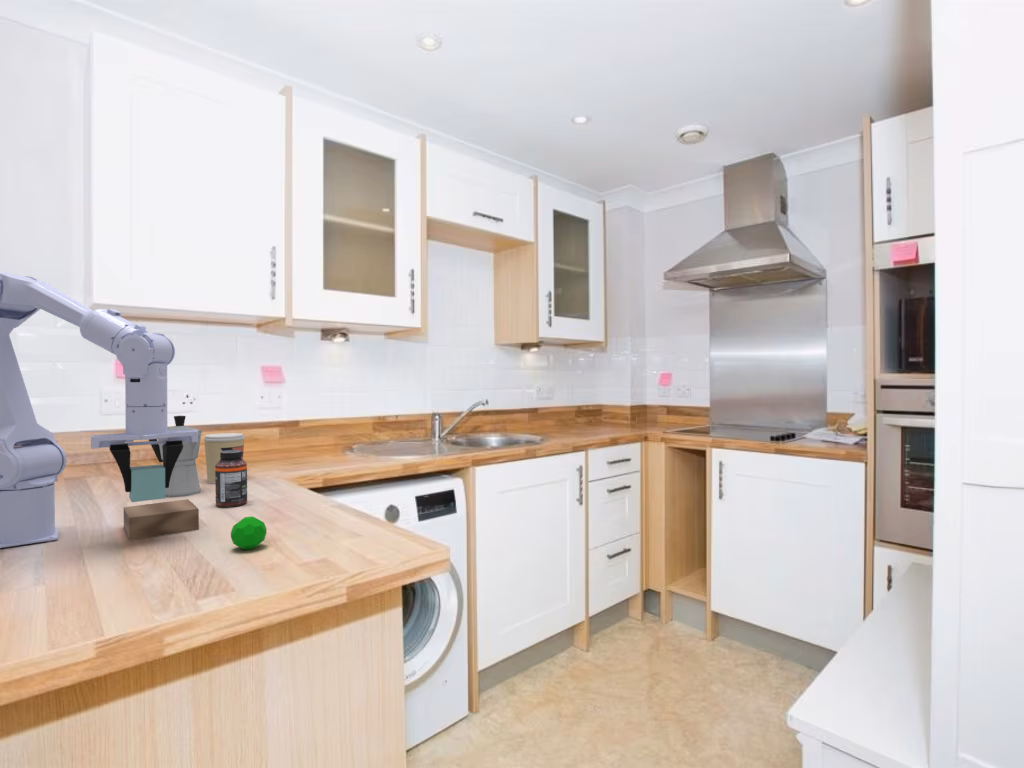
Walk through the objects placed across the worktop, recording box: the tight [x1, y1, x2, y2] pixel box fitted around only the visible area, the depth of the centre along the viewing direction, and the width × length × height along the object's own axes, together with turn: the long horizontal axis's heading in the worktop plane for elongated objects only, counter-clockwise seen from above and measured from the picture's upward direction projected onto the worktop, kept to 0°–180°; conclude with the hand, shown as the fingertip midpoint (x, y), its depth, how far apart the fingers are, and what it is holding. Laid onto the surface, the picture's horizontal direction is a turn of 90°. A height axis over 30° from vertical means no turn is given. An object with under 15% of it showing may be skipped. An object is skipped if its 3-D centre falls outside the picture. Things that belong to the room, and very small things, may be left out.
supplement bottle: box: [214, 450, 248, 508], centre depth 114 cm, size 6×6×11 cm
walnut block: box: [123, 498, 200, 541], centre depth 96 cm, size 10×10×4 cm
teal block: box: [128, 463, 166, 503], centre depth 89 cm, size 4×4×5 cm
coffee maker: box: [148, 415, 203, 498], centre depth 126 cm, size 15×9×18 cm, turn 74°
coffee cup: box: [203, 432, 246, 485], centre depth 141 cm, size 9×9×12 cm
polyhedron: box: [230, 516, 267, 551], centre depth 85 cm, size 5×5×5 cm
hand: (147, 489), depth 89 cm, fingers closed on teal block, 4 cm apart
